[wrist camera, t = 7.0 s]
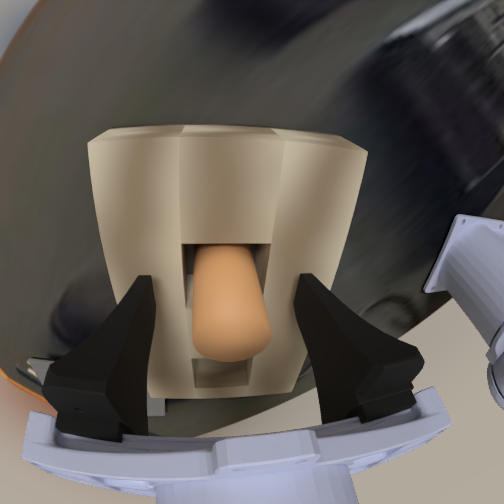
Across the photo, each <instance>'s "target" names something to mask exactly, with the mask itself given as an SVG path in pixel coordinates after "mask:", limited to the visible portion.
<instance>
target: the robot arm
mask: <svg viewBox="0 0 504 504" xmlns="http://www.w3.org/2000/svg"><path fill="white" fill-rule="evenodd" d="M423 290H424V291H425V293H430V292H438V291H445V290H447V291H448V292H449V293H450V294H451V296H452V297H453V298H454V299H455V301H456V302H457V303H458V304H459V306H460V307H461V308H462V310H463V311H464V312H465V314H466V315H467V316H468V317H469V319H470V320H471V322H472V323H473V324H474V326H475V327H476V329H477V330H478V331H479V333H480V334H481V336H482V337H483V339H484V340H485V341H486V343H487V344H488V346H489V347H490V349H489V351H488V352H487V353H486V357H487V358H488V360H489V361H490V363H489V365H488V368H487V379H488V385H489V389H490V392H491V394H492V396H493V398H494V400H495V401H496V403H497V404H498V405H499V406H500V407H501V408H502V409H503V410H504V221H501V220H494V219H488V218H482V217H475V216H468V215H461V214H458V215H457V216H456V217H455V218H454V221H453V223H452V226H451V228H450V231H449V233H448V236H447V238H446V240H445V243H444V245H443V247H442V250H441V252H440V254H439V256H438V259H437V261H436V263H435V265H434V267H433V269H432V271H431V274H430V276H429V278H428V280H427V282H426V284H425V286H424V288H423ZM293 306H294V311H295V316H296V320H297V323H298V326H299V329H300V332H301V335H302V337H303V340H304V343H305V346H306V348H307V351H308V354H309V357H310V360H311V364H312V368H313V372H314V377H315V382H316V387H317V392H318V398H319V404H320V411H321V419H322V425H318V426H313V427H307V428H302V429H294V430H288V431H281V432H273V433H265V434H256V435H244V436H232V437H210V438H174V437H152V436H149V435H148V418H147V375H148V363H149V357H150V351H151V345H152V339H153V334H154V328H155V319H156V301H155V296H154V290H153V284H152V277H151V275H139V276H137V278H136V279H135V281H134V282H133V284H132V285H131V287H130V288H129V290H128V291H127V293H126V294H125V295H124V297H123V298H122V299H121V301H120V302H119V304H118V305H117V306H116V307H115V309H114V310H113V311H112V312H111V314H110V315H109V316H108V317H107V318H106V319H105V321H104V322H103V323H102V324H101V325H100V326H99V327H98V328H97V329H96V330H95V331H94V332H93V333H92V334H91V335H90V336H89V337H88V338H86V339H85V340H84V341H83V342H82V343H81V344H79V345H78V346H77V347H76V348H74V349H73V350H72V351H70V352H69V353H67V354H66V355H64V356H63V357H61V358H60V359H58V360H56V361H55V362H53V363H51V364H50V365H49V368H48V370H47V373H46V376H45V380H44V383H43V387H42V394H43V396H44V397H45V399H46V400H47V401H48V402H49V403H50V404H51V405H52V406H53V407H54V408H55V409H56V410H57V412H58V414H57V418H55V417H54V416H51V415H48V414H44V413H40V412H37V411H30V415H29V419H28V424H27V428H26V433H25V438H24V444H23V450H22V456H21V457H22V458H23V459H24V460H26V461H28V462H29V463H31V464H33V465H34V466H36V467H38V468H40V469H42V470H44V471H45V472H47V473H49V474H52V475H55V476H59V477H62V478H65V479H69V480H72V481H76V482H80V483H83V484H87V485H91V486H95V487H100V488H104V489H109V490H114V491H119V492H124V493H130V494H136V495H143V496H151V497H156V504H359V503H358V499H357V496H356V492H355V489H354V486H353V482H352V479H351V475H352V474H355V473H358V472H361V471H364V470H367V469H369V468H372V467H374V466H377V465H379V464H382V463H384V462H386V461H389V460H391V459H394V458H396V457H398V456H400V455H403V454H405V453H407V452H409V451H411V450H414V449H416V448H418V447H420V446H422V445H424V444H426V443H428V442H429V441H430V440H432V439H433V438H435V437H436V436H437V435H439V434H440V433H441V432H443V431H444V430H446V429H447V428H448V427H449V426H451V425H452V421H451V419H450V417H449V414H448V413H447V410H446V409H445V406H444V404H443V402H442V400H441V398H440V396H439V394H438V392H437V390H436V388H435V387H434V386H432V387H430V388H427V389H424V390H422V391H419V392H417V393H416V394H414V395H413V393H412V391H411V390H412V389H413V388H414V386H413V384H412V382H411V381H413V379H414V378H415V377H416V376H417V375H418V374H419V372H420V371H421V369H422V368H423V366H424V359H423V357H422V355H421V354H420V352H419V351H418V349H417V347H415V346H413V345H410V344H408V343H405V342H403V341H400V340H398V339H396V338H394V337H392V336H390V335H388V334H386V333H384V332H382V331H381V330H379V329H377V328H376V327H374V326H372V325H371V324H369V323H368V322H366V321H365V320H364V319H362V318H361V317H359V316H358V315H357V314H355V313H354V312H353V311H352V310H351V309H349V308H348V307H347V306H346V305H345V304H343V303H342V302H341V301H340V300H339V299H338V298H337V297H336V296H335V295H334V294H333V293H332V292H331V291H330V290H329V289H328V288H327V287H326V286H325V285H323V284H322V283H321V282H320V281H319V280H318V279H317V278H316V277H315V276H314V275H313V274H312V273H300V276H299V281H298V285H297V289H296V293H295V297H294V301H293Z"/></svg>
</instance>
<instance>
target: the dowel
mask: <svg viewBox="0 0 504 504" xmlns="http://www.w3.org/2000/svg"><path fill="white" fill-rule="evenodd" d="M271 337H272V332H271V328H270V324H269V320H268V316H267V312H266V308H265V303H264V299H263V295H262V291H261V287H260V283H259V279H258V275H257V271H256V267H255V262H254V258H253V254H252V250H251V246H250V243H209V244H195V248H194V271H193V307H192V342H193V345H194V347H195V349H196V350H197V351H198V352H199V353H200V354H201V355H203V356H204V357H206V358H209V359H211V360H215V361H221V362H236V361H242V360H246V359H249V358H251V357H254V356H256V355H257V354H259V353H260V352H262V351H263V350H264V349H265V348H266V347H267V346H268V344H269V343H270V341H271Z"/></svg>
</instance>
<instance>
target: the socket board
mask: <svg viewBox="0 0 504 504" xmlns="http://www.w3.org/2000/svg"><path fill="white" fill-rule="evenodd" d="M88 153H89V164H90V173H91V181H92V189H93V196H94V202H95V209H96V214H97V220H98V226H99V231H100V236H101V241H102V246H103V250H104V255H105V259H106V263H107V268H108V272H109V276H110V280H111V284H112V287H113V291H114V295H115V298H116V302H117V305H118V304H119V302H120V301H121V299H122V298H123V297H124V295H125V294H126V293H127V291H128V290H129V288H130V287H131V285H132V284H133V282H134V281H135V279H136V278H137V276H139V275H151V277H152V284H153V290H154V296H155V301H156V319H155V328H154V334H153V339H152V345H151V351H150V357H149V363H148V375H147V390H148V392H149V395H150V397H151V398H187V399H191V398H229V397H246V396H258V395H269V394H279V393H287V392H292V390H293V387H294V385H295V383H296V380H297V378H298V375H299V373H300V371H301V368H302V366H303V363H304V361H305V358H306V356H307V353H308V351H307V348H306V346H305V343H304V340H303V337H302V335H301V332H300V329H299V326H298V323H297V320H296V316H295V311H294V306H293V301H294V297H295V293H296V289H297V285H298V281H299V276H300V273H312V274H313V275H314V276H315V277H316V278H317V279H318V280H319V281H320V282H321V283H322V284H323V285H325V286H326V287H327V288H328V289H329V290H330V289H331V286H332V283H333V280H334V277H335V274H336V271H337V268H338V264H339V261H340V258H341V255H342V251H343V248H344V244H345V241H346V238H347V234H348V231H349V227H350V223H351V220H352V216H353V212H354V208H355V205H356V201H357V197H358V193H359V189H360V185H361V180H362V176H363V172H364V168H365V163H366V159H367V154H368V152H367V151H366V150H364V149H362V148H360V147H359V146H357V145H355V144H353V143H351V142H350V141H348V140H346V139H344V138H342V137H340V136H339V135H335V134H328V133H321V132H314V131H306V130H298V129H289V128H278V127H267V126H253V125H235V124H154V125H136V126H123V127H112V128H111V129H109V130H107V131H106V132H104V133H102V134H101V135H99V136H98V137H96V138H94V139H93V140H91V141H90V142H88ZM209 243H250V246H251V250H252V254H253V258H254V262H255V267H256V271H257V275H258V279H259V283H260V287H261V291H262V295H263V299H264V303H265V308H266V312H267V316H268V320H269V324H270V328H271V332H272V337H271V341H270V343H269V344H268V346H267V347H266V348H265V349H264V350H263V351H262V352H260V353H259V354H257V355H256V356H254V357H251V358H249V359H246V360H242V361H236V362H221V361H215V360H211V359H209V358H206V357H204V356H203V355H201V354H200V353H199V352H198V351H197V350H196V349H195V347H194V345H193V342H192V307H193V271H194V248H195V244H209Z"/></svg>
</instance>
